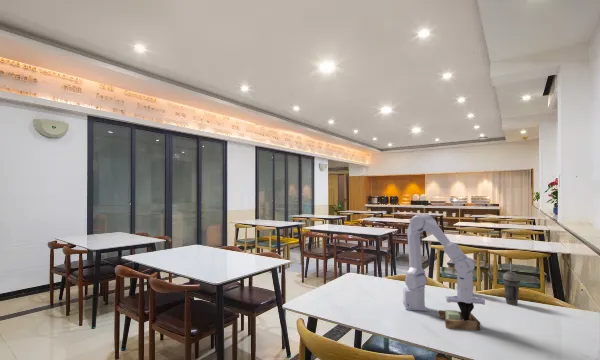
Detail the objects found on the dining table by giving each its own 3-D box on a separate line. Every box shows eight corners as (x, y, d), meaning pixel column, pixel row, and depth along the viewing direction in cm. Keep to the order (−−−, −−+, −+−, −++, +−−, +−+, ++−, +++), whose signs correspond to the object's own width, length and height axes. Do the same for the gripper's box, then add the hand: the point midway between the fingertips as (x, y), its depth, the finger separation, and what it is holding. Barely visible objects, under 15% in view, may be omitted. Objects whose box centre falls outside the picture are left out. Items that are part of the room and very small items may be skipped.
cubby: (446, 327, 125) (446, 320, 125) (439, 317, 135) (439, 310, 135) (480, 330, 123) (480, 322, 123) (470, 319, 133) (470, 312, 133)
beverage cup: (504, 305, 149) (504, 263, 150) (501, 299, 156) (500, 260, 157) (522, 307, 147) (522, 264, 147) (518, 301, 153) (517, 261, 154)
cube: (448, 325, 128) (448, 314, 128) (445, 320, 132) (445, 309, 132) (460, 326, 127) (460, 314, 127) (456, 321, 131) (456, 310, 132)
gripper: (449, 289, 126) (449, 323, 126) (488, 291, 124) (488, 325, 124) (444, 284, 133) (444, 316, 133) (480, 286, 131) (481, 318, 131)
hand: (465, 320), depth 129 cm, fingers closed
